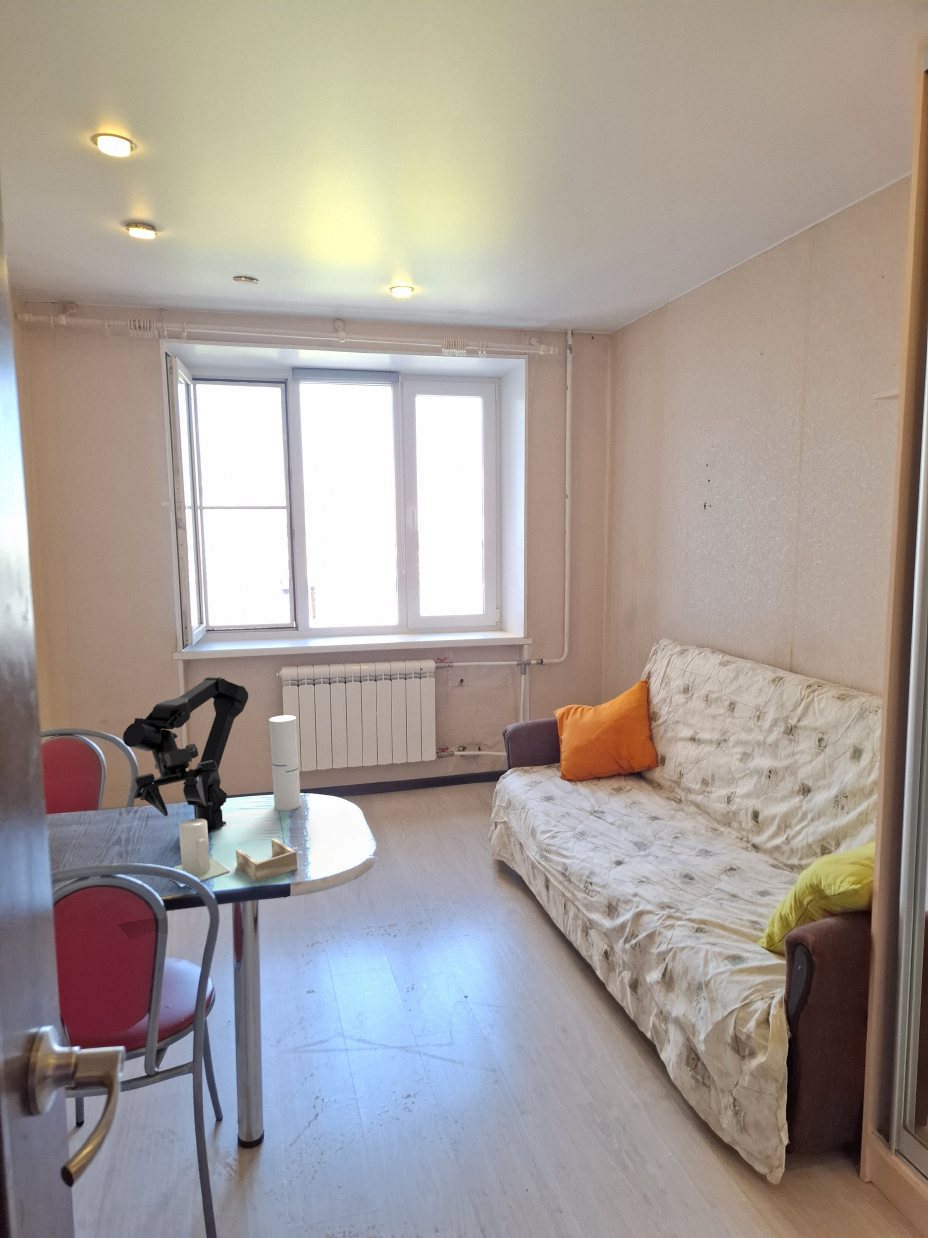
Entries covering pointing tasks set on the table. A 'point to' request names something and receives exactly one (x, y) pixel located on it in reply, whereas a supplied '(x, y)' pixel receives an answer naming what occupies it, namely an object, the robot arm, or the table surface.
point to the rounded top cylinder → (194, 846)
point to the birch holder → (268, 862)
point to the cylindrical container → (285, 762)
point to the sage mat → (211, 870)
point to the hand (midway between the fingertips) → (186, 810)
